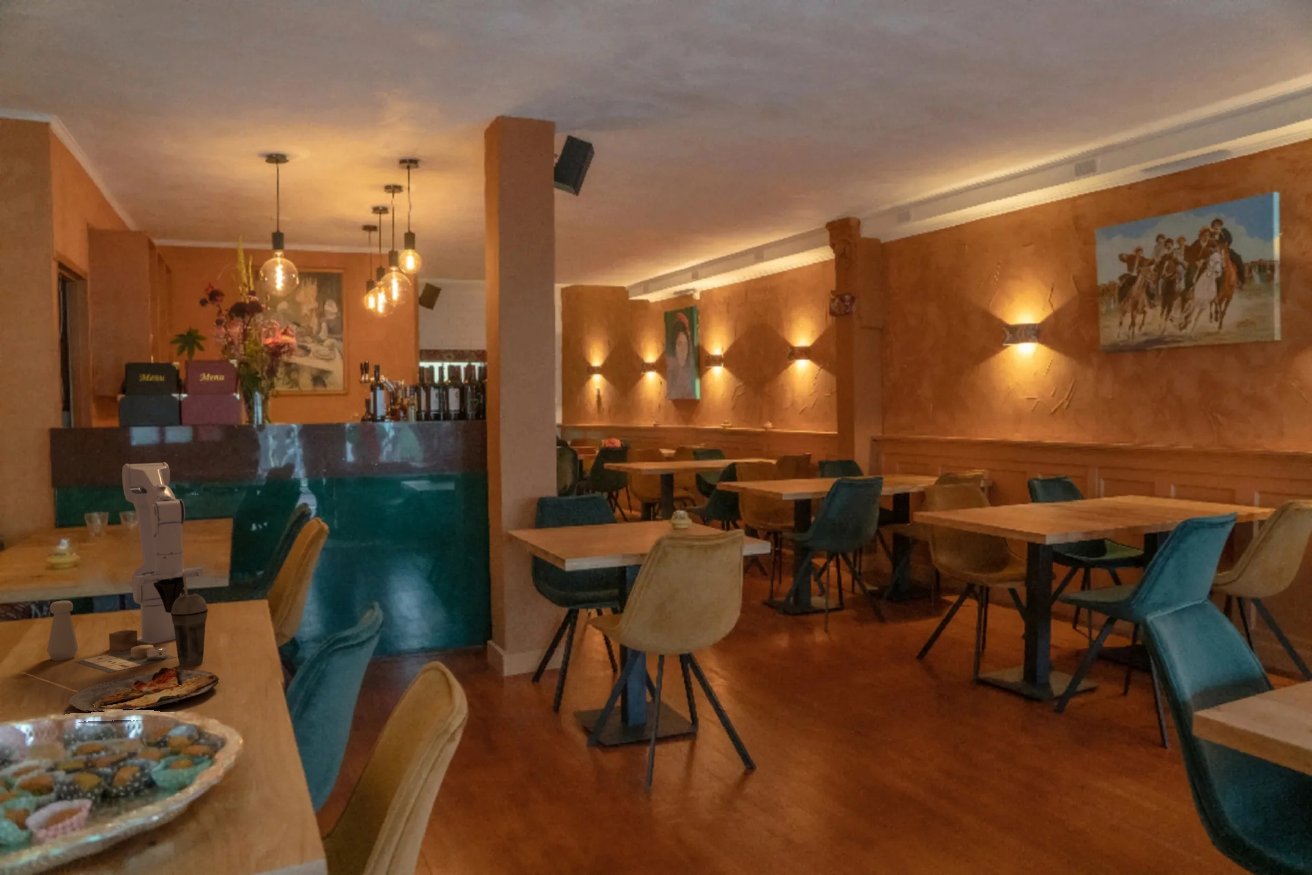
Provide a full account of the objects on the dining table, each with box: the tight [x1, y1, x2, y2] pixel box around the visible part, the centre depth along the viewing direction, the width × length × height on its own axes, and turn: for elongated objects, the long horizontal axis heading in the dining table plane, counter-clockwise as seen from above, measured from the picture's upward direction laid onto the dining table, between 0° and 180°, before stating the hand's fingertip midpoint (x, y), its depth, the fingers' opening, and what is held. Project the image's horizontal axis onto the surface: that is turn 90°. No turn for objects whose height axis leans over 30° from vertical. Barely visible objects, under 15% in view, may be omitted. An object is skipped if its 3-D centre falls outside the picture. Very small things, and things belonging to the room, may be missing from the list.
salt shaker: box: [46, 600, 79, 662], centre depth 205 cm, size 6×6×13 cm
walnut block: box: [108, 629, 139, 651], centre depth 214 cm, size 4×4×4 cm
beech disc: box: [130, 644, 154, 659], centre depth 206 cm, size 4×4×2 cm
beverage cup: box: [171, 574, 209, 668], centre depth 198 cm, size 7×7×20 cm
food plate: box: [68, 666, 220, 712], centre depth 175 cm, size 25×23×4 cm
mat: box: [75, 649, 178, 674], centre depth 203 cm, size 14×16×1 cm
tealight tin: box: [147, 646, 168, 661], centre depth 203 cm, size 4×4×2 cm
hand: (170, 611), depth 211 cm, fingers closed
